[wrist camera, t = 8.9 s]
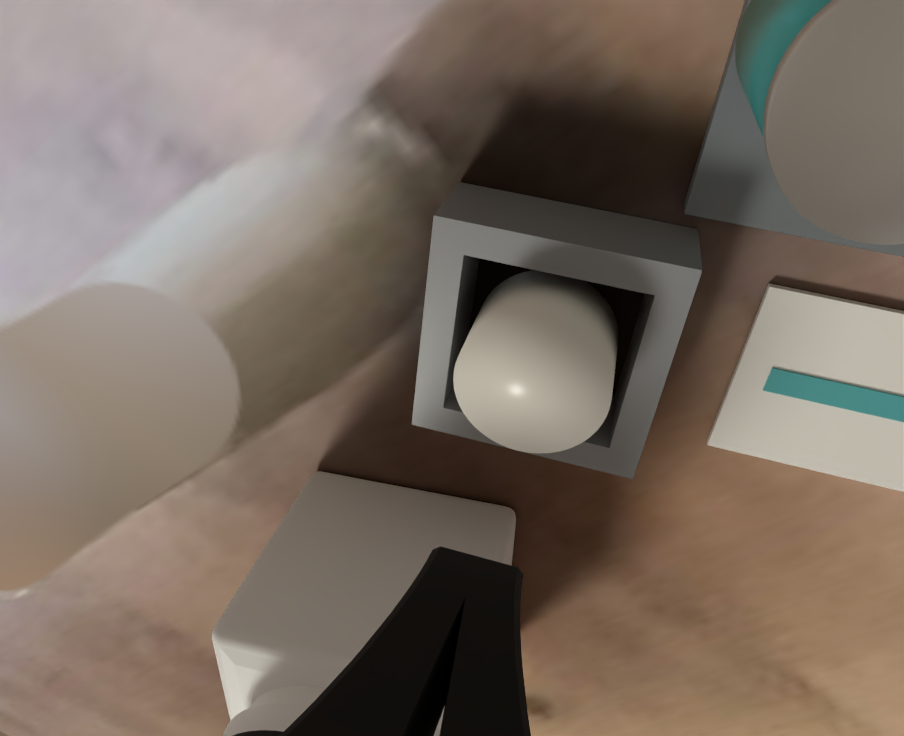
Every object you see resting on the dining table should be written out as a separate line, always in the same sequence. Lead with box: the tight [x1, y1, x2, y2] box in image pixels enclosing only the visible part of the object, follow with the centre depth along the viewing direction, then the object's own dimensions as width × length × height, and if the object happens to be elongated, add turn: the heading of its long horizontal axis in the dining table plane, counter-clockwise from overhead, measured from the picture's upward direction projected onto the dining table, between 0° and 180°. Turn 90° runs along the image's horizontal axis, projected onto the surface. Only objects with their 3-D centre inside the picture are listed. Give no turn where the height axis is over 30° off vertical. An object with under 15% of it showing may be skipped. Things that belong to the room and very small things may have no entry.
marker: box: [735, 0, 904, 245], centre depth 12 cm, size 3×3×7 cm
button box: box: [412, 182, 702, 479], centre depth 19 cm, size 6×6×2 cm
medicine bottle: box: [212, 471, 516, 736], centre depth 21 cm, size 7×7×12 cm
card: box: [707, 283, 904, 492], centre depth 19 cm, size 6×5×1 cm
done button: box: [453, 270, 619, 453], centre depth 18 cm, size 4×4×3 cm
